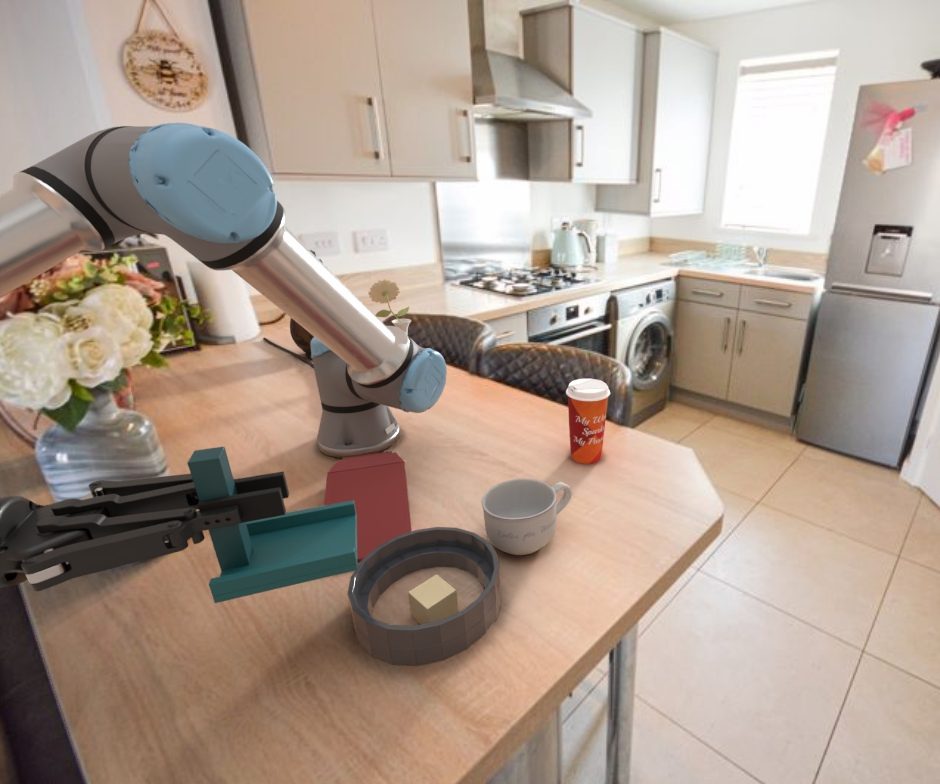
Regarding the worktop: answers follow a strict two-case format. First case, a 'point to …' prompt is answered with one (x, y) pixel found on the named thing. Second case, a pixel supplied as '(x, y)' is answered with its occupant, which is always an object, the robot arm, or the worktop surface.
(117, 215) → the robot arm
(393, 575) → the dark grey ring
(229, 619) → the worktop surface
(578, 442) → the coffee cup
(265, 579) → the teal post tray
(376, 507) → the red flat panel
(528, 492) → the teacup
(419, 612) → the cream block
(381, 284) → the flower in vase
